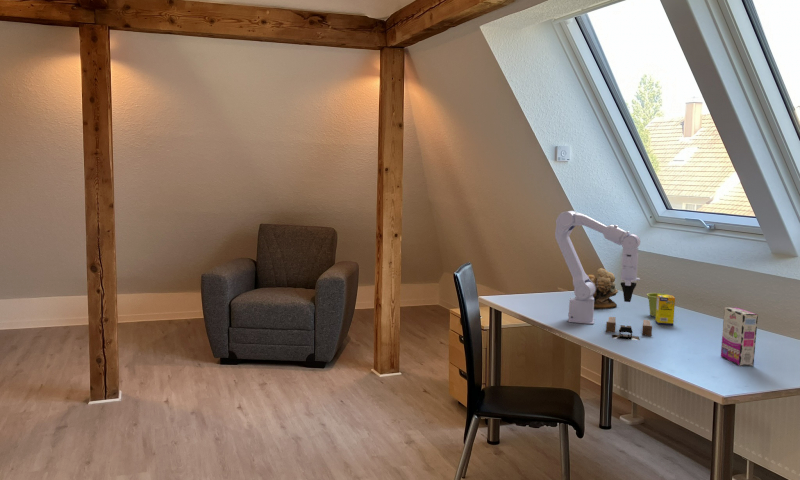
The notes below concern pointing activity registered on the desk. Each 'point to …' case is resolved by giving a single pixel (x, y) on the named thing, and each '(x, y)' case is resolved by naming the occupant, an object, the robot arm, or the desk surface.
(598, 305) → the tan lumpy statue
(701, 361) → the desk surface
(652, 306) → the plant pot
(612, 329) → the wooden rail pair
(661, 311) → the supplement box
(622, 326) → the black bracket
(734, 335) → the candy bar box
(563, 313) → the desk surface
